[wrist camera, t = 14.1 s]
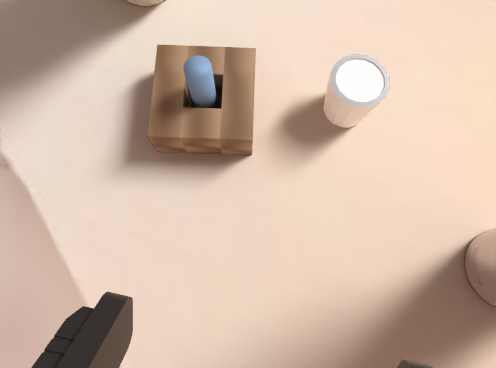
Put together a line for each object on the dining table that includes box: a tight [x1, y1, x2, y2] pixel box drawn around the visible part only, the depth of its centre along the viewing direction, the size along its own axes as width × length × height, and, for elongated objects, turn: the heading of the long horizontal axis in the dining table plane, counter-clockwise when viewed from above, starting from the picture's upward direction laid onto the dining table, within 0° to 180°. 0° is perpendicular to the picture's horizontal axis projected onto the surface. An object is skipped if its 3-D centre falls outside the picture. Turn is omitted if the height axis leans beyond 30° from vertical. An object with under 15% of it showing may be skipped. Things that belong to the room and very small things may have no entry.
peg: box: [183, 55, 218, 109], centre depth 44 cm, size 3×3×10 cm
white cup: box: [323, 54, 390, 128], centre depth 46 cm, size 7×7×7 cm
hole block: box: [147, 45, 256, 155], centre depth 46 cm, size 12×12×5 cm
